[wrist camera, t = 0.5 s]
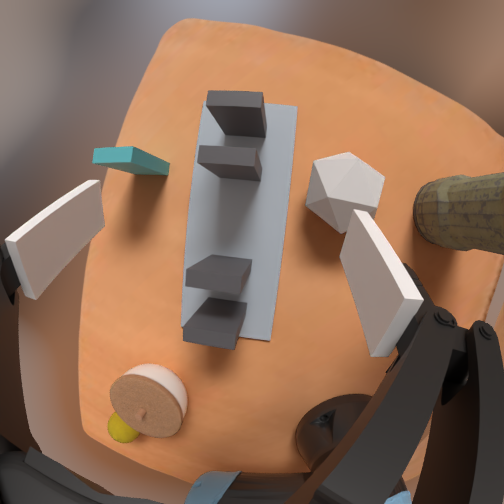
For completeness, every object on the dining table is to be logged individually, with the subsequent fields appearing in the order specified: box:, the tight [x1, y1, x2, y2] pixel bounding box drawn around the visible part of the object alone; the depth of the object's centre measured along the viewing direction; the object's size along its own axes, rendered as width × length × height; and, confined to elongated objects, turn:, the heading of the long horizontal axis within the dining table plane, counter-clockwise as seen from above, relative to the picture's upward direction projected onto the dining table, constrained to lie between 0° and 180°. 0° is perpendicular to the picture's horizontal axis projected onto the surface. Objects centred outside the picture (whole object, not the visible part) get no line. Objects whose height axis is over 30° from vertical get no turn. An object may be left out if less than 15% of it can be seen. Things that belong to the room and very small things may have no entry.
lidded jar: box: [110, 363, 188, 438], centre depth 33 cm, size 11×11×9 cm
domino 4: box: [183, 297, 247, 350], centre depth 30 cm, size 2×5×10 cm, turn 84°
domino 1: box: [206, 91, 267, 138], centre depth 27 cm, size 2×5×10 cm, turn 84°
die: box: [305, 152, 385, 234], centre depth 29 cm, size 8×9×10 cm
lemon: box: [108, 412, 140, 443], centre depth 35 cm, size 6×6×8 cm
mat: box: [181, 101, 297, 341], centre depth 34 cm, size 30×12×1 cm, turn 174°
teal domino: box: [93, 146, 170, 175], centre depth 29 cm, size 2×5×10 cm, turn 84°
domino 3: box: [185, 254, 252, 294], centre depth 29 cm, size 2×5×10 cm, turn 84°
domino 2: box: [197, 145, 262, 182], centre depth 28 cm, size 2×5×10 cm, turn 84°
